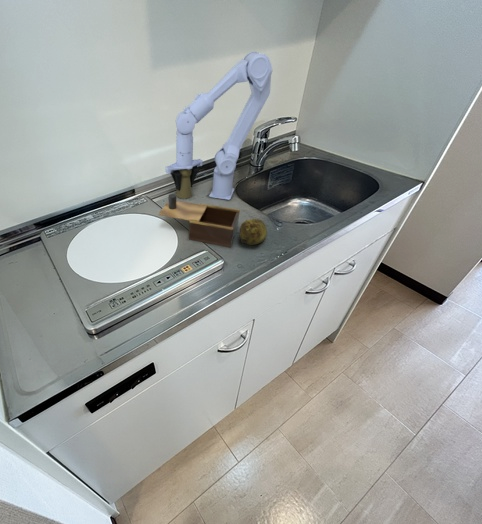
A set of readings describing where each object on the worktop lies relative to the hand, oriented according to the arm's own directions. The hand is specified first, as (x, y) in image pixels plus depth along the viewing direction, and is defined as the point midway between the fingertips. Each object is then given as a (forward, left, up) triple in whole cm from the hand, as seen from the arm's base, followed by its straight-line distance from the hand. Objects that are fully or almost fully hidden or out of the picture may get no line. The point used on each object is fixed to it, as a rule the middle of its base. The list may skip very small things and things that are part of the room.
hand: (184, 187), depth 105 cm
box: (+22, +17, -3) cm, 28 cm away
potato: (+22, +29, -3) cm, 37 cm away
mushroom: (0, 0, -3) cm, 3 cm away
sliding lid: (+22, +7, +3) cm, 23 cm away
